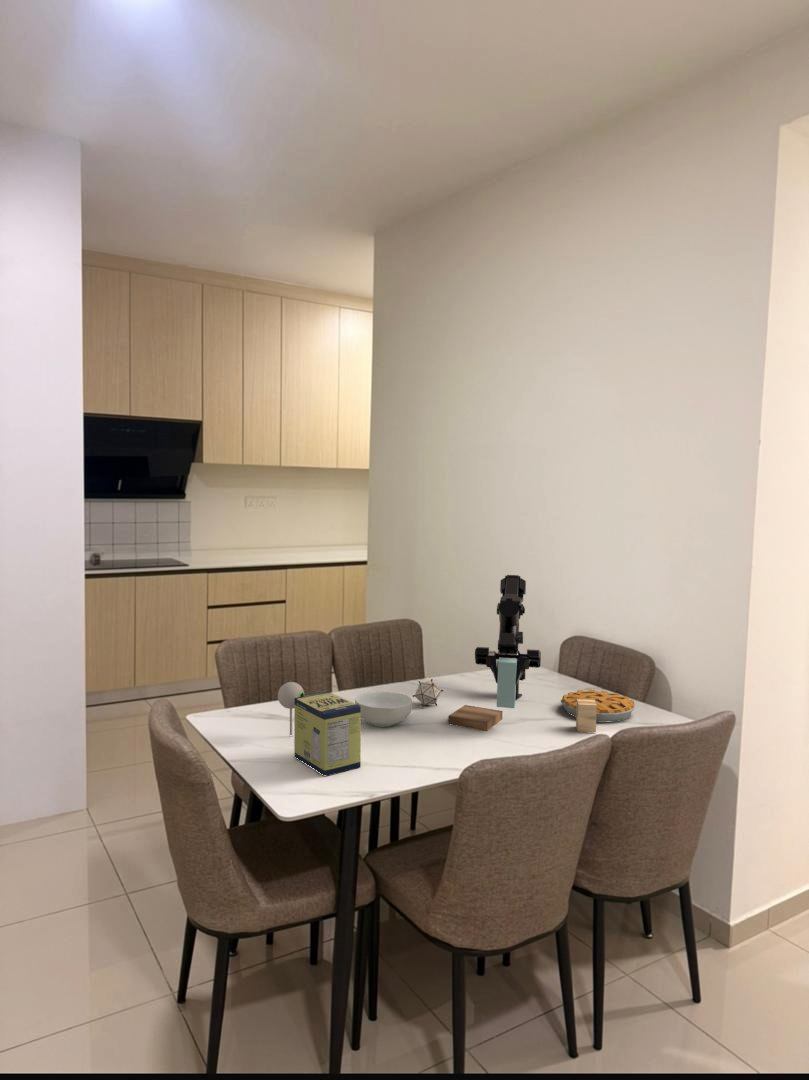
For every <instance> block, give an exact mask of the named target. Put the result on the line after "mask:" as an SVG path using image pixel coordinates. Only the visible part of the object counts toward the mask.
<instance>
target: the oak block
mask: <svg viewBox="0 0 809 1080" xmlns="http://www.w3.org/2000/svg"><path fill="white" fill-rule="evenodd" d="M596 714H597V705H596V702H595V700H581V699H577V712H576V717H575V727H576V731H578V732H577V733H582V732H596V733H597V722H596Z"/></svg>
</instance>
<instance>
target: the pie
mask: <svg viewBox="0 0 809 1080" xmlns="http://www.w3.org/2000/svg"><path fill="white" fill-rule="evenodd" d="M577 699H581V700H595V702H596V705H597V714H596V721H616V722H619V721H618V720H622V721H624V720H626V719H628V717H629V718H630V716H631V714H632V712H633V711H635V709H636V704H635V702H634V700H633V699H630V698H629V697H628V696H626V695H623V696H622V695H620V694H619V693H611V692H608V691H605V690H601V691H598V690H595V689H589V690H586V691H584V690H582V689H581V690H577V691H576V692H574V691H573V692H572V691H571V692H568V693H567V694H563V695H562V698H561V700H560V703H561V704H562V706H563V708H564V711H565V710H566V711H567V712H568V713H570V714H572V715H574V716H576V712H577ZM566 711H565V712H566ZM567 712H566V713H567ZM568 713H567V714H568ZM570 714H569V715H570ZM572 715H571V716H572ZM574 716H573V717H574ZM625 718H626V719H625ZM623 719H624V720H623Z"/></svg>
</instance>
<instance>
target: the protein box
mask: <svg viewBox="0 0 809 1080" xmlns="http://www.w3.org/2000/svg"><path fill="white" fill-rule="evenodd" d="M293 709H294V711H293V713H294V729H293V731H294V739H293V740H294V742H293V743H294V746H293V747H294V749H293V750H294V758H295V757H296V758H298V759H299V760H301V761H303V762H304V763H306V764H307V765H309V766H311V767H312V768H314V769H315V770H317V771H318V772H320V773H321V774H323V775H328V776H331V775H330V774H332V775H335V774H334V773H336V774H339V773H338V772H340V773H343V772H342V771H344V772H347V771H351V770H355V769H359V768H361V766H362V765H361V763H362V762H361V729H362V728H361V724H362V723H361V720H362V718H361V706H360V705H358V704H356V703H355V702H353V701H351V700H348V699H346V698H343V696H340V695H337V694H335V693H333V692H332V691H331V692H330V691H326V692H322V693H315V694H309V695H304V696H303V697H297V698H294V708H293ZM296 758H295V759H296ZM298 759H297V760H298ZM299 760H298V761H299ZM301 761H300V762H301ZM304 763H303V764H304ZM307 765H306V766H307ZM309 766H308V767H309ZM312 768H311V769H312ZM350 769H351V770H350ZM315 770H314V771H315ZM346 770H347V771H346ZM318 772H317V773H318ZM320 773H319V774H320ZM321 774H320V775H321ZM323 775H322V776H323Z"/></svg>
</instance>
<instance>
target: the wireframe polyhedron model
mask: <svg viewBox="0 0 809 1080" xmlns="http://www.w3.org/2000/svg"><path fill="white" fill-rule="evenodd" d="M418 683H419V684H418V686H417V689H416V691H415V694H413V695H412V697H413V698H415V697H416V699H417V700H418V701H419V703H421V704H422V708H423V709H424V708H425V706H426V707H427V706H430V705H431V706H432V705H435V706H437V707H438V704H437V702H438V700H439V697H440V694H441V693H442V692H444V689H440V688H439V687H438V686H437V685H436V684H435V683H434V682H433V678H431V679H430V680H429V681H424V682H421V681H420V680H418Z"/></svg>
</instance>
